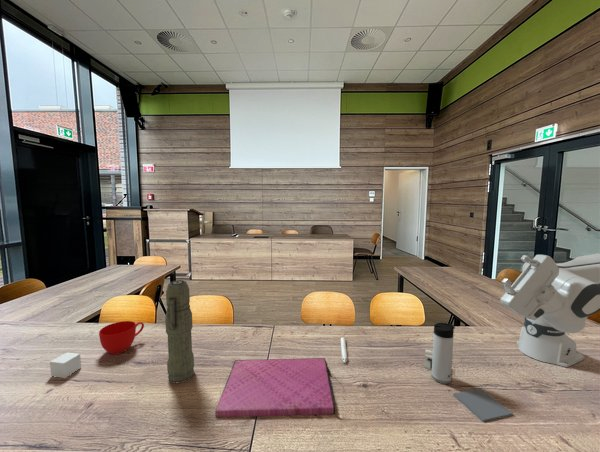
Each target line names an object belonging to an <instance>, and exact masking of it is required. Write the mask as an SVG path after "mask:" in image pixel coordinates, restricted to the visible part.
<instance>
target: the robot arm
mask: <svg viewBox="0 0 600 452" xmlns="http://www.w3.org/2000/svg"><path fill="white" fill-rule="evenodd" d="M520 260H521V261H522V262H523V263H524V264H523V265H522V268H521V270H522V272H521V273H520V275H519V276H517V278H516V279H515V281H513V282H512V281H511V280H510V279H508V278H506V277H504V278H503V279H502V280H501V283H502V285H503V287H504V292H505V293H504V294H503V295H502V296H501V298H500V303H501V305H502V306H503V307H505V308H506V309H507V310H510V311H512V312H514V313H515V314H517V315H519V316H521V317H523V318H524V319H523V326H522V327H521V330H520V335H519V339H517V341H516V344H517V345H518V347H517V348H518V350H519V351H520V352H521V353H522V354H524V355H525V356H528V357H530V358H532V359H534V360H537V361H540V362H544V363H546V364H547V363H548V364H552V365H553V364H554V365H557V366H560V367H564V368H569V367H571V366H573V365H575V364H577V363H579V362H580V361H583V360H584V359H585V355H584V354H582V353H580V352H579V351H577V343H576V341H574V340H573V339H572V338H571V337H569V336H568V335H567V334H577V333H579V332H581V331H583V330H584V328H585V326H586V321H587V319H588V317H590V316H592V315H595V314H596V313H599V312H600V253H593V254H592V253H591V254H586V255H581V256H580V255H579V256H576V257H575V258H574V259H572V260H569V261H566V262H559V263H556V262H555V260H554V259H553V258H552V257H551V256H549V255H546V254H536V255H535V256H534V257H533V258H531V257H529V255H525V254H523V255H522V256H521V257H520Z"/></svg>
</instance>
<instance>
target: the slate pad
mask: <svg viewBox="0 0 600 452" xmlns="http://www.w3.org/2000/svg"><path fill="white" fill-rule="evenodd" d="M452 396H453V397H454V398H456V399H457V400H458V401H459V402H460V403H461V404H463V406H465V407H466V409H468V410H469V411H470V412H471V413H472V414H473V415H475V417H476V418H478V419H479V420H480V421H481V422H483V423H484V422H489V421H493V420H498V419H502V418H507V417H511V416H514V413H513V412H512V411H511V410H509V409H508V408H507V407H506V406H504V404H501V402H499V401H498V400H497V399H495V398H494V397H493V396H491V395H490V394H489V393H488V392H486V391H485V390H483V389H482V388H476V389H469V390H464V391H459V392H455V393H452Z"/></svg>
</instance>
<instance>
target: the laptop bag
mask: <svg viewBox="0 0 600 452" xmlns="http://www.w3.org/2000/svg"><path fill="white" fill-rule="evenodd" d="M331 375H332V376H334V374H333V373H332V372H331V370H330V367H328V365H327V362H326V358H323V357H322V358H317V357H315V358H313V357H312V358H269V359H268V358H267V359H266V358H265V359H264V358H263V359H262V358H261V359H260V358H259V359H239V360H238V359H237V360H234V362H233V365H232V368H231V370H230V373H229V376H228V378H227V380H226V383H225V385H224V388H223V390H222V393H221V396H220V398H219V401H218V403H217V406H216V409H215V412H214V413H215V417H218V418H219V417H222V418H223V417H227V418H229V417H230V418H231V417H233V418H234V417H279V416H280V417H281V416H285V417H286V416H289V417H290V416H320V415H321V416H322V415H323V416H324V415H326V416H327V415H336V403H335V398H334V394H333V390H332V385H331V381H330V377H331ZM334 379H335V380H336V381H337V382H338V383H339V384H340V385H341V386H342V388H344V386H343V385H342V384H341V382H339V380H338V379H337V378H336V377H334ZM343 390H344V392H346V391H345V389H343ZM342 398H343V400H344V401H345V400H346V398H344V397H343V396H342Z"/></svg>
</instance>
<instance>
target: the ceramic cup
mask: <svg viewBox="0 0 600 452" xmlns="http://www.w3.org/2000/svg"><path fill="white" fill-rule="evenodd" d="M139 325H141V327H140V329H139V330H138V331H137V332H136V330H137V327H138V326H139ZM144 327H145V324H144V323H143V322H141V321H138V322H135V321H131V320H124V321H117V322H113V323H110V324H108V325H106V326H103V327H102V328H101V329H100V330H99V331H98V335H99V336H98V337H99V341H100V345H101V347H102V348H103V349H104V351H106V352H107V353H109V354H110V353H111V354H110V355H119V354H118V353H120V354H122V353H121V352H123V353H125V352H126V351H127V349H128V350H129V348H130V347H131V346H132V345H133V343H134V341H135V338H136V337H137V336H138V335H139V334H140V333H141V332H142V331H143V329H144ZM125 350H126V351H125ZM124 351H125V352H124Z"/></svg>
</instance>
